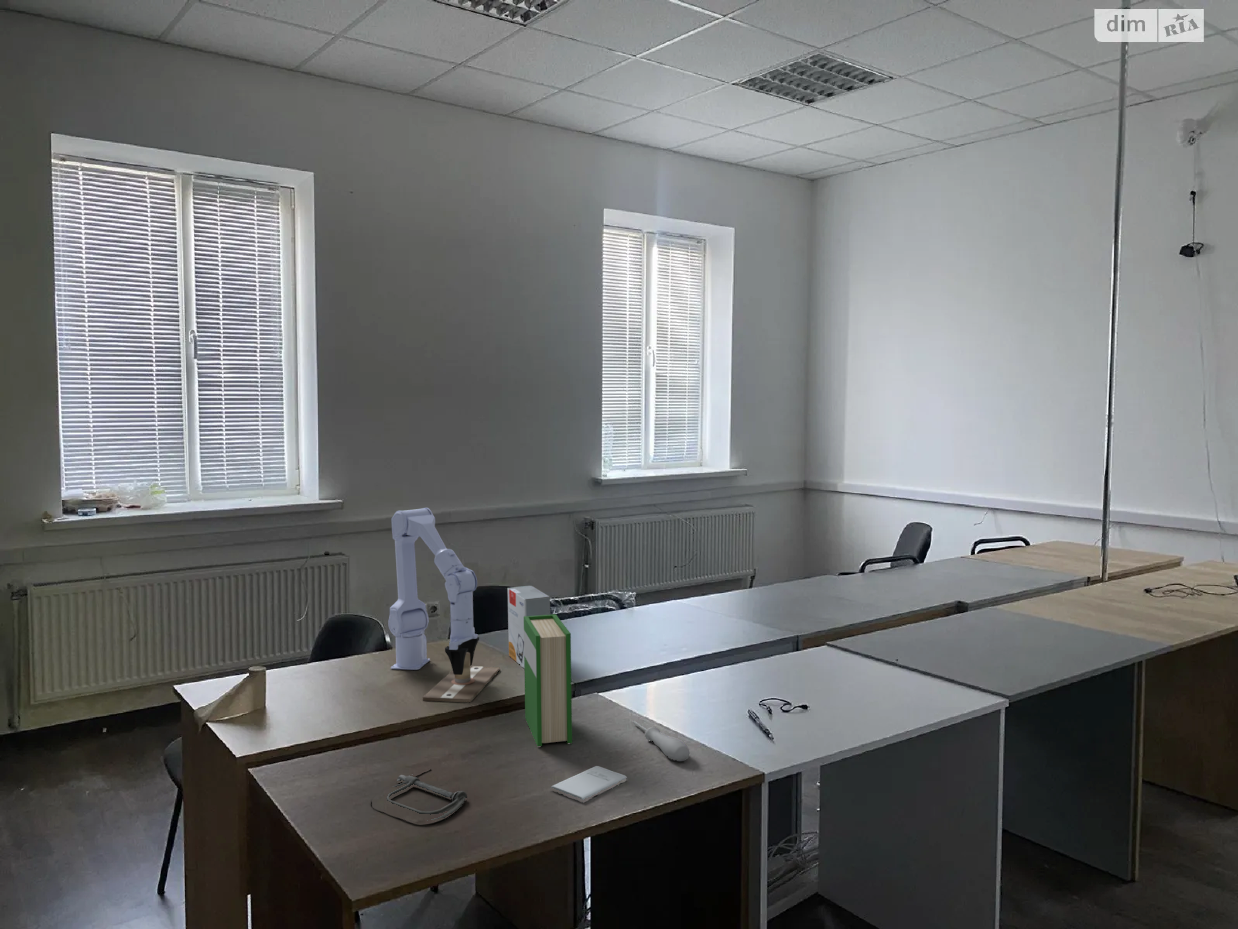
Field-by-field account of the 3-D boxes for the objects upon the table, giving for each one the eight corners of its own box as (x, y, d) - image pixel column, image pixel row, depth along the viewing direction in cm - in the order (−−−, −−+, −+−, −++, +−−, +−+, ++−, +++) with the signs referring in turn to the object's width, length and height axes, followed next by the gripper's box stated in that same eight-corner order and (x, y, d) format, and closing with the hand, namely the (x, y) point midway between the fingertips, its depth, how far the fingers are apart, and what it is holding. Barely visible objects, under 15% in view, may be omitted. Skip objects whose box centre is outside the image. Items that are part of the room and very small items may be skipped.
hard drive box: (507, 656, 257) (506, 587, 256) (533, 653, 260) (532, 585, 259) (525, 671, 243) (524, 598, 241) (552, 667, 246) (551, 595, 245)
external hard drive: (551, 793, 169) (595, 772, 178) (582, 806, 163) (627, 783, 173) (550, 785, 168) (595, 764, 178) (582, 797, 163) (627, 775, 173)
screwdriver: (639, 731, 203) (643, 712, 204) (692, 766, 181) (696, 745, 181) (621, 729, 202) (624, 710, 202) (672, 765, 179) (675, 743, 179)
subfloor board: (457, 668, 245) (457, 665, 245) (499, 670, 244) (499, 666, 243) (422, 700, 220) (422, 696, 220) (470, 702, 218) (469, 698, 218)
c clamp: (353, 801, 166) (352, 787, 166) (429, 772, 179) (429, 758, 179) (419, 836, 153) (418, 820, 153) (496, 801, 166) (496, 787, 165)
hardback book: (572, 744, 191) (570, 633, 189) (537, 748, 189) (535, 636, 188) (557, 716, 208) (555, 614, 206) (525, 719, 206) (523, 616, 205)
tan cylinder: (457, 678, 234) (456, 651, 233) (472, 678, 233) (471, 652, 233) (453, 683, 230) (452, 656, 229) (468, 683, 229) (467, 656, 229)
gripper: (468, 625, 223) (469, 679, 224) (485, 611, 237) (486, 662, 238) (440, 624, 224) (441, 678, 225) (459, 610, 238) (460, 661, 239)
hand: (462, 669), depth 231 cm, fingers open, 7 cm apart
